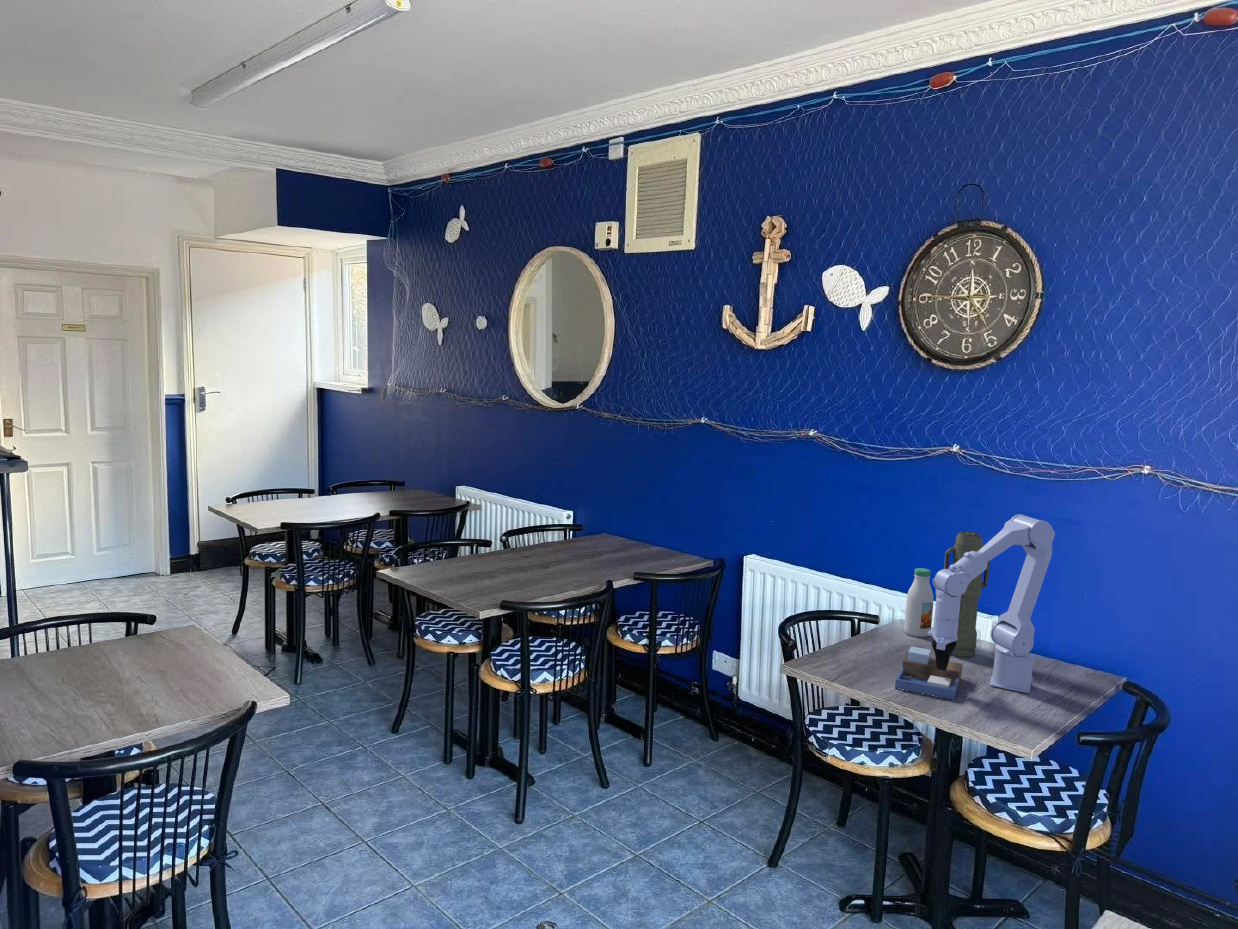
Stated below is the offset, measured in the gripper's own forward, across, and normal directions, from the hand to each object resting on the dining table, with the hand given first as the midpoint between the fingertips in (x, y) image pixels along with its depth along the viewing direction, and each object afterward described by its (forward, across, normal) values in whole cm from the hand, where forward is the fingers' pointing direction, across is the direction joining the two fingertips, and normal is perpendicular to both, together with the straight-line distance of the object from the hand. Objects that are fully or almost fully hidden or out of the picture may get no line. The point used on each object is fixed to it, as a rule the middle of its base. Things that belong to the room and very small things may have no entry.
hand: (941, 669), depth 225 cm
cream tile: (+2, +3, 0) cm, 3 cm away
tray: (+5, +2, -3) cm, 6 cm away
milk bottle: (+5, -43, -12) cm, 45 cm away
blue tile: (+1, -7, -6) cm, 9 cm away
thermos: (+5, -31, +1) cm, 32 cm away
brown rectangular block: (+5, -7, -3) cm, 9 cm away
